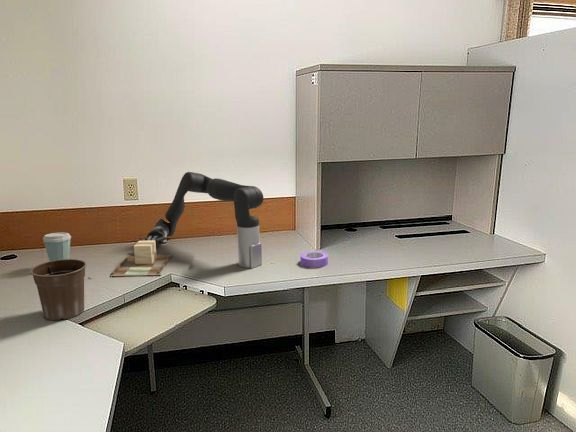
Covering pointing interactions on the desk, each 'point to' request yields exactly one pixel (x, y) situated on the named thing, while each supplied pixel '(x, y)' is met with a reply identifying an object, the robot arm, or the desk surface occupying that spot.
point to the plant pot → (60, 287)
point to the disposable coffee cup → (57, 245)
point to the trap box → (140, 267)
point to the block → (145, 252)
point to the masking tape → (314, 259)
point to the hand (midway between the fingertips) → (147, 246)
